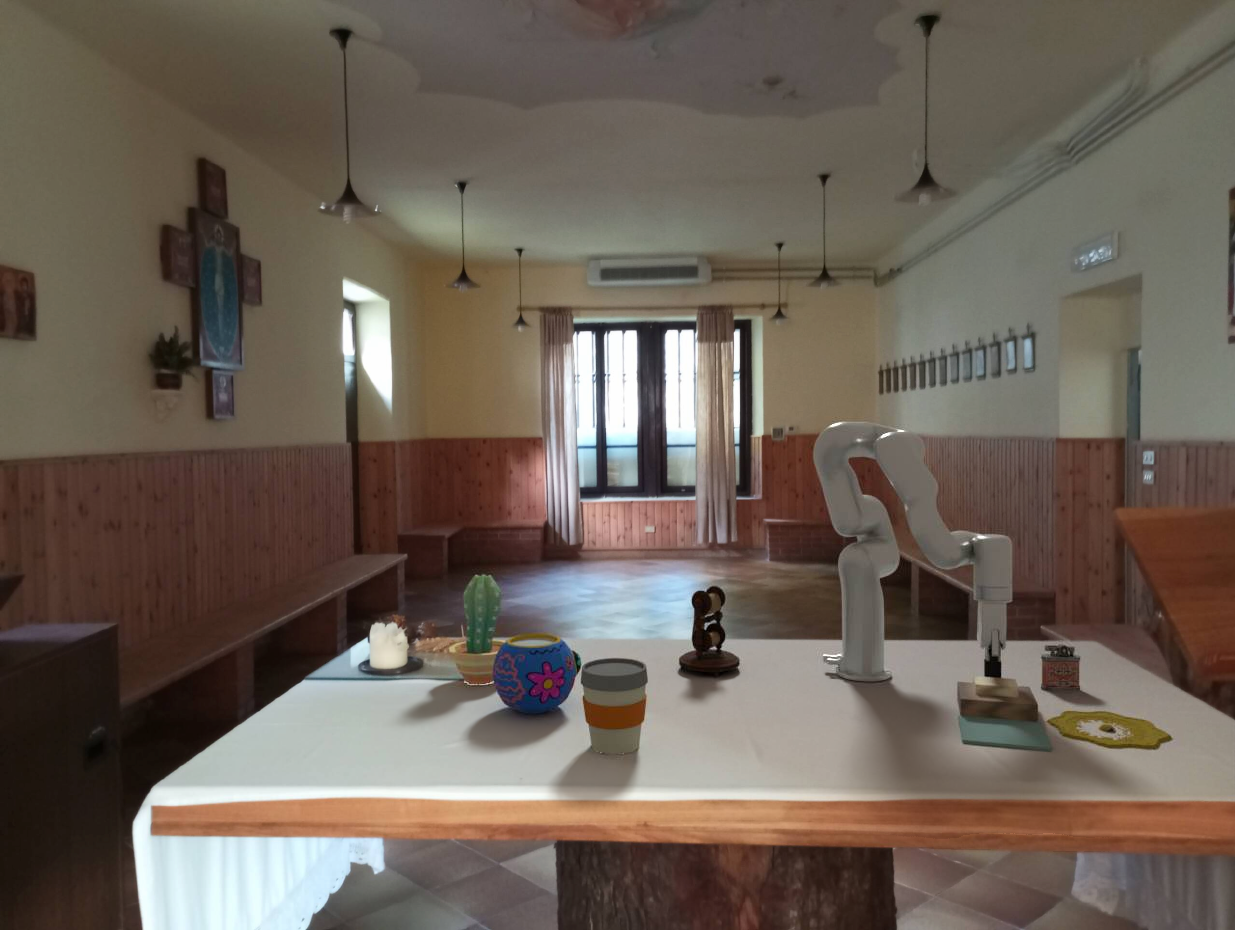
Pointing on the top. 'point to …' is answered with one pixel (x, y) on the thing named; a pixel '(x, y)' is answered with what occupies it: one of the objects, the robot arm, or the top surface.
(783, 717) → the top surface
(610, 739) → the reusable coffee cup
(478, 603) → the potted cactus
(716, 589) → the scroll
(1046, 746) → the mat
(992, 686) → the tile
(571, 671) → the ceramic pot
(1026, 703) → the brown flat block
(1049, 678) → the lighter
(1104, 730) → the decorative medallion
